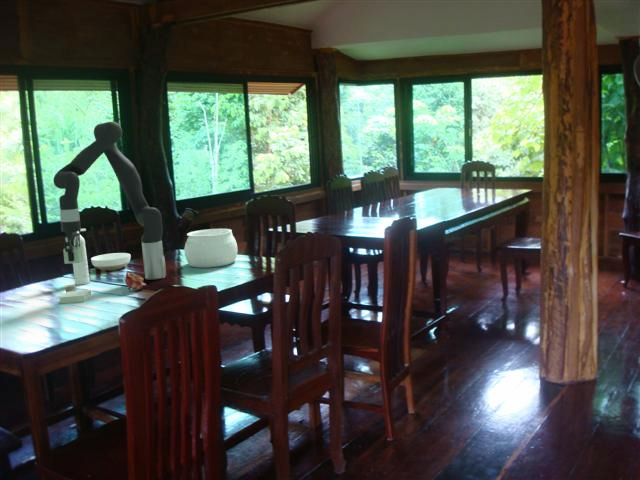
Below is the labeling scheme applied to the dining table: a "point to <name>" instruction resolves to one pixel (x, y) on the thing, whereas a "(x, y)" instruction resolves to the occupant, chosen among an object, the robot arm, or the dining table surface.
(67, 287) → the grey block
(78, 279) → the white bottle
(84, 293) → the trivet
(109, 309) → the dining table surface
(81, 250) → the green cube
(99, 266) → the bowl
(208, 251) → the pot
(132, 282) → the flower
